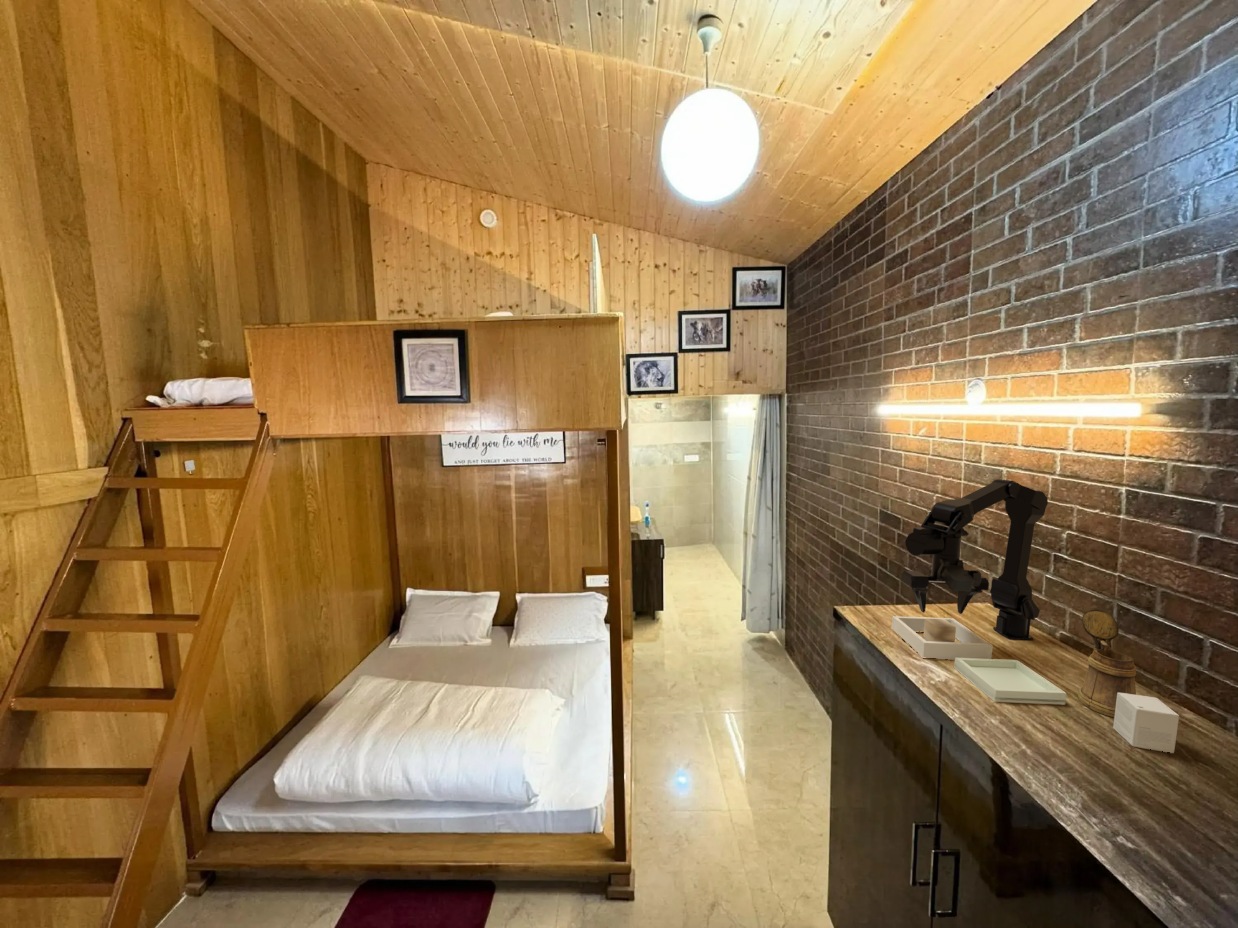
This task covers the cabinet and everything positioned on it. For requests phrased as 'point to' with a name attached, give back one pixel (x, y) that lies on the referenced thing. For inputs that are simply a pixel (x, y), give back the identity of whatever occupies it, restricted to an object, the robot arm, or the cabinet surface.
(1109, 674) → the wooden mug
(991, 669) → the sage tray
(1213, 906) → the cabinet surface
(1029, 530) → the robot arm
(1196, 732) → the cabinet surface
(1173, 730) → the product box
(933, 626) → the birch block
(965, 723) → the cabinet surface
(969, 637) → the white square frame
